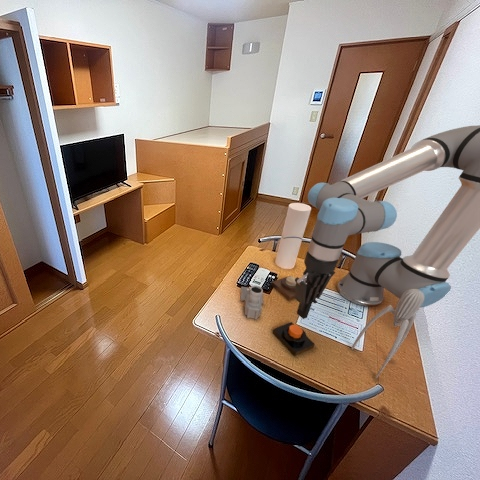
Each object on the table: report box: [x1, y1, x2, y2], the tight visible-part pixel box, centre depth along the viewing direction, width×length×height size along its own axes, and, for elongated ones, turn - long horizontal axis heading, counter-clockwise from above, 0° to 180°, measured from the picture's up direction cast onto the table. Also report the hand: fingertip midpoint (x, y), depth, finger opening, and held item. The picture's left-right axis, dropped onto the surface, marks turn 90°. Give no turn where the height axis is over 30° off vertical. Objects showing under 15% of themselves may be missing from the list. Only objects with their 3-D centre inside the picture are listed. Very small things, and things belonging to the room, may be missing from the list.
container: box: [274, 202, 312, 270], centre depth 118 cm, size 9×9×30 cm
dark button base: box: [272, 321, 316, 357], centre depth 88 cm, size 8×10×4 cm
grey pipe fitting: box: [239, 284, 264, 320], centre depth 100 cm, size 9×12×15 cm
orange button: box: [288, 324, 304, 338], centre depth 86 cm, size 4×4×2 cm
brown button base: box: [270, 275, 296, 302], centre depth 109 cm, size 10×10×4 cm
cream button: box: [286, 275, 297, 286], centre depth 108 cm, size 4×4×2 cm
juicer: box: [350, 289, 425, 380], centre depth 73 cm, size 10×9×30 cm
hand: (301, 315), depth 82 cm, fingers closed
